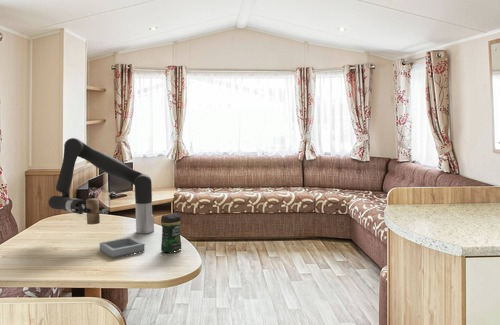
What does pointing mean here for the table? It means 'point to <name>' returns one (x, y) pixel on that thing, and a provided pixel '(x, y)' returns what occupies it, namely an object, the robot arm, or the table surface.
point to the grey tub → (121, 247)
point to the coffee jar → (171, 232)
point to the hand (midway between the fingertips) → (95, 209)
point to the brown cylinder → (93, 211)
